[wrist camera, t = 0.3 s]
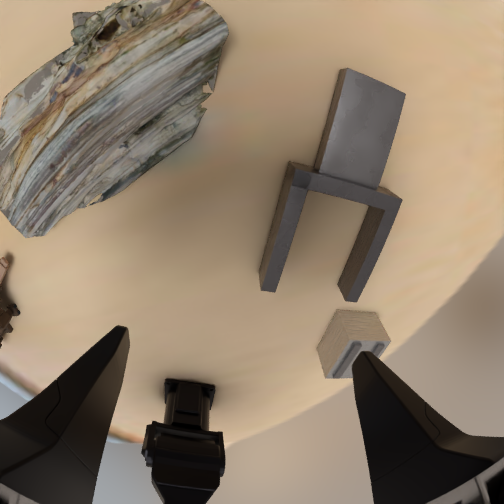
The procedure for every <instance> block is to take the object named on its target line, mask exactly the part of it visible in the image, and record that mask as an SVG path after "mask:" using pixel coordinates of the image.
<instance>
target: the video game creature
mask: <svg viewBox="0 0 504 504" xmlns="http://www.w3.org/2000/svg"><path fill="white" fill-rule="evenodd" d="M8 265H9V262H8V261H7V260H6V259H5V258H4V257H2V258H1V259H0V284H1V282H2V280H3V278H4V276H5V274H6V272H7V270H8V268H9V266H8ZM1 288H2V286H1V285H0V291H1ZM0 302H1V299H0ZM7 308H8V309H7V311H6V312H5V311H3V310H2V309H1V308H0V348H1V346H2V344H1V342H2V340H3V338H2V335H3V334H4V333H11V332H12V330H13V328H12V327H11V325H10V324H9V321H10V319H11V318H12V316H19V315H20V311H19V310H18V308H17V306H16V304H10V305H8V306H7Z"/></svg>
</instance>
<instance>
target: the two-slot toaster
mask: <svg viewBox="0 0 504 504" xmlns="http://www.w3.org/2000/svg"><path fill="white" fill-rule="evenodd" d="M390 342H391V340H390V338H389V336H388V334H387V332H386V330H385V328H384V327H383V325H382V323H381V321H380V319H379V317H378V316H377V314H376V313H373V312H361V311H350V310H339V309H337V310H336V312H335V314H334V316H333V318H332V320H331V322H330V324H329V326H328V328H327V330H326V332H325V334H324V336H323V337H322V339H321V341H320V343H319V345H318V347H317V351H318V355H319V358H320V362H321V365H322V369H323V372H324V376H325V378H353V375H352V364H353V362H354V361H355V359H356V357H357V356H358V354H359V353H360V352H361V351H371V352H372V353H373V354H374V355H375V356H376V357H377V358H380V356H381V355H382V353H383V352H384V351H385V349H386V348H387V346H388V345H389V343H390Z"/></svg>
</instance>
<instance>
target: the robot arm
mask: <svg viewBox="0 0 504 504" xmlns="http://www.w3.org/2000/svg"><path fill="white" fill-rule="evenodd" d="M129 348H130V340H129V331H128V328H127V327H124V326H119V325H117V326H115V327H114V328H113V329H112V330H111V331H110V332H109V333H107V334H106V335H105V336H104V337H103V338H102V339H100V340H99V341H98V342H97V343H96V344H95V345H94V346H92V347H91V348H90V349H89V350H88V351H87V352H86V353H85V354H83V355H82V356H81V357H80V358H79V359H78V360H77V361H76V362H74V363H73V364H72V365H71V366H70V367H69V368H68V369H67V370H66V371H64V372H63V373H62V374H61V375H60V376H59V377H58V378H57V380H54V381H53V382H52V383H51V384H50V385H49V386H48V387H47V388H45V389H44V390H43V391H42V392H41V393H39V394H38V395H37V396H36V397H34V398H33V399H32V400H30V401H29V402H28V403H26V404H25V405H23V406H22V407H21V408H19V409H18V410H16V411H15V412H14V413H12V414H11V415H9V416H8V417H6V418H4V419H2V420H0V504H92V501H93V496H94V490H95V486H96V481H97V476H98V472H99V467H100V463H101V459H102V454H103V451H104V447H105V443H106V439H107V435H108V431H109V428H110V424H111V420H112V417H113V413H114V410H115V407H116V403H117V400H118V397H119V393H120V390H121V387H122V383H123V378H124V373H125V368H126V363H127V358H128V353H129ZM352 375H353V384H354V393H355V400H356V405H357V410H358V414H359V419H360V424H361V429H362V434H363V439H364V445H365V450H366V455H367V460H368V467H369V473H370V479H371V482H372V483H371V486H372V493H373V500H374V504H504V437H485V436H472V435H468V434H465V433H464V432H462V431H460V430H459V429H458V428H457V427H455V426H454V425H453V424H451V423H450V422H449V421H448V420H446V419H445V418H444V417H443V416H441V415H440V414H439V413H438V412H437V411H435V410H434V409H433V408H432V407H431V406H430V405H429V404H428V403H427V402H425V401H424V400H423V399H422V398H421V397H420V396H419V395H418V394H417V393H415V392H414V391H413V390H412V389H411V388H410V387H409V386H408V385H407V384H406V383H405V382H404V381H403V380H401V379H400V378H399V377H398V376H397V375H396V374H395V373H394V372H393V371H392V370H391V369H389V368H388V367H387V366H386V365H385V364H384V363H383V362H382V361H381V360H380V359H379V358H377V357H376V356H375V355H374V354H373V353H372V352H371V351H361V352H360V353H359V354H358V356H357V357H356V359H355V361H354V362H353V364H352ZM214 394H215V386H212V385H204V384H197V383H190V382H183V381H177V380H171V379H166V380H165V404H166V409H165V416H164V424H163V423H159V422H157V421H152V424H150V425H147V427H146V433H145V438H144V442H143V446H142V452H141V453H142V455H143V456H144V457H145V461H146V466H147V467H152V473H151V475H152V484H153V486H154V488H155V490H156V492H157V493H158V495H159V497H160V499H161V500H162V502H163V504H206V503H207V501H208V500H209V499H210V497H211V496H212V495H213V493H214V492H215V491H216V489H217V488H218V487H219V485H220V477H222V476H223V474H224V470H225V450H224V441H223V432H219V431H218V432H213V431H209V411H210V410H211V406H212V402H213V398H214Z"/></svg>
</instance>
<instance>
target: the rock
mask: <svg viewBox="0 0 504 504" xmlns="http://www.w3.org/2000/svg"><path fill="white" fill-rule="evenodd" d="M73 22H74V29H73V30H72V31H71V35H72V37H73V41H72V42H74V45H73V46H71V47H70V48H69V49H67V50H66V51H64V52H62V53H61V54H59V55H58V56H56V57H55V58H53V59H52V60H50V61H49V62H47V63H46V64H44V65H43V66H42V67H40V68H39V69H38V70H36V71H35V72H33V73H32V74H31V75H30V76H28V77H27V78H26V79H24V80H23V81H22V82H21V83H20V84H18V85H17V86H16V87H15V88H14V89H13V90H12V91H11V92H10V93H8V94H7V95H6V97H5V98H4V100H3V106H2V110H1V111H2V113H1V117H0V210H1V211H2V213H3V214H4V215H5V216H6V217H7V219H8V220H9V222H10V223H11V224H12V225H13V226H14V227H15V228H16V229H17V230H18V231H19V232H20V233H22V234H23V236H24V237H25V238H30V237H34V236H44V235H46V234H47V232H48V231H49V230H50V229H51V228H52V227H53V226H54V225H55V224H56V223H57V222H58V220H59V219H61V218H62V217H63V216H65V215H68V214H71V213H72V212H73V211H74V210H76V209H77V208H85V207H87V206H86V205H87V204H88V203H89V202H90V201H91V200H92V199H93V198H94V197H96V196H97V195H98V194H99V193H103V194H102V195H101V197H100V198H99V199H98V201H96V202H93V203H92V204H90V205H93V204H96V203H98V202H102V201H104V200H106V199H108V198H110V197H112V196H114V195H116V194H117V193H119V192H121V191H122V190H123V189H125V188H126V187H127V186H128V185H130V184H131V183H132V182H133V181H135V180H136V179H137V178H138V177H139V176H141V175H142V174H143V173H145V172H146V171H147V170H148V169H149V168H151V167H152V166H154V165H155V164H157V163H158V162H159V161H160V160H162V159H163V158H164V157H166V156H167V155H168V154H170V153H171V152H172V151H173V150H175V149H176V148H177V147H179V146H180V145H181V144H182V143H184V142H185V141H187V140H188V139H189V138H191V137H192V135H193V133H194V131H195V129H196V127H197V125H198V123H199V121H200V119H201V117H202V116H203V114H204V113H205V111H206V110H207V109H205V108H201V103H202V102H204V101H205V100H206V99H207V98H208V97H209V96H210V95H211V94H212V93H203V86H202V85H207V82H206V81H208V83H209V86H210V88H211V90H212V91H213V92H214V84H215V78H216V75H217V66H218V63H219V59H220V56H221V49H222V46H223V44H224V43H225V41H226V39H227V37H228V35H229V32H228V27H227V24H226V22H225V21H224V20H223V18H222V17H221V16H220V15H219V14H218V13H217V12H216V11H215V10H214V9H213V8H212V7H211V6H210V5H208V4H207V3H205V2H203V1H200V0H122V1H120V2H119V3H117V4H116V3H112V5H111V6H107V7H106V8H105V10H103V11H97V13H96V12H92V13H90V12H76V13H73ZM90 205H89V206H90Z"/></svg>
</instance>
